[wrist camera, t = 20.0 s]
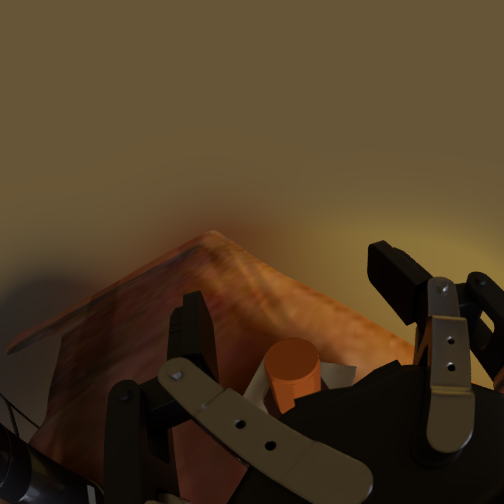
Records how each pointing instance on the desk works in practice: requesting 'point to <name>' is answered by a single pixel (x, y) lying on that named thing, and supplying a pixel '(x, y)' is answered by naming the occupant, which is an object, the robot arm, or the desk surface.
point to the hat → (291, 374)
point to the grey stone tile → (328, 371)
